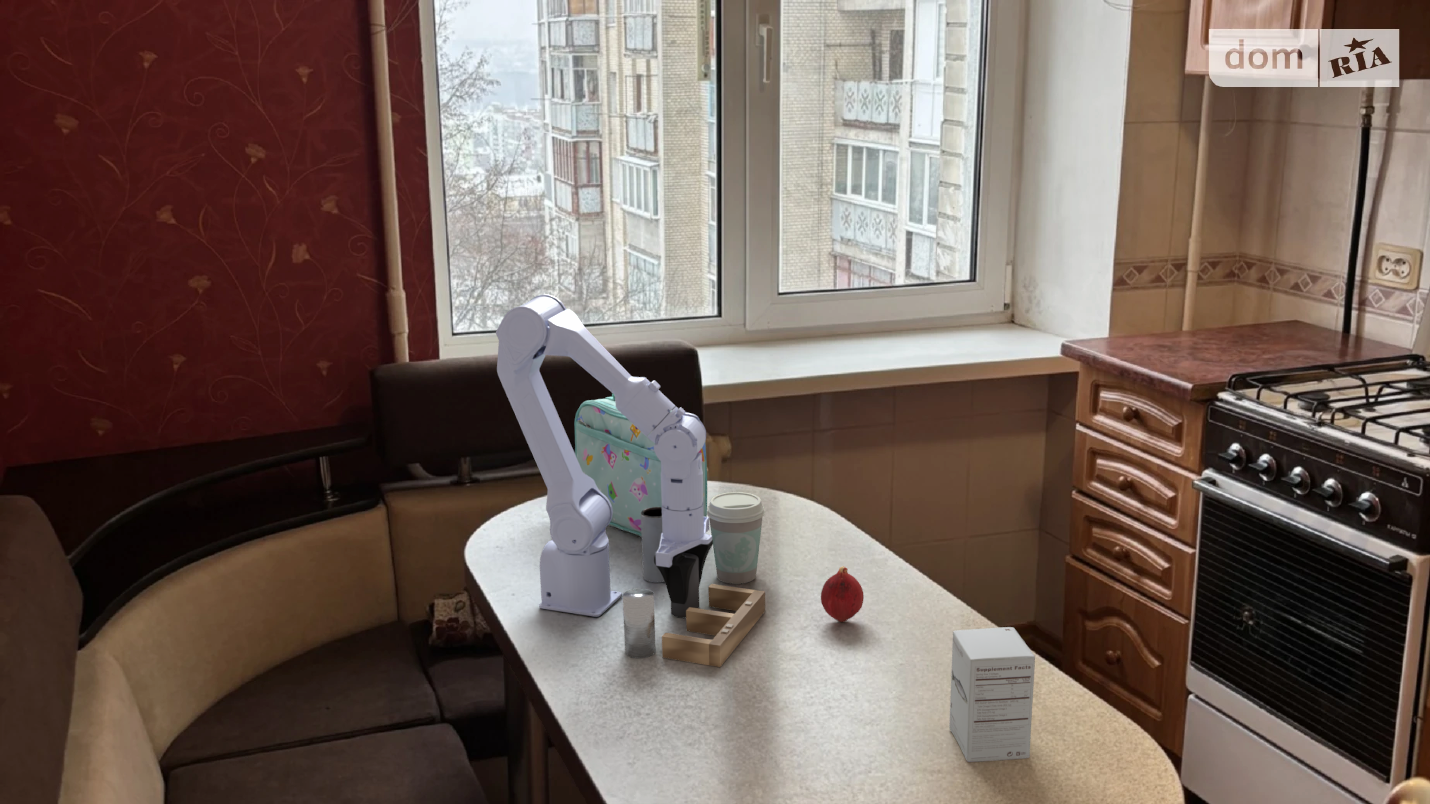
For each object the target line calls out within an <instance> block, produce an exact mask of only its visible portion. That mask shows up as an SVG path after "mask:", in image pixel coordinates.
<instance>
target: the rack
mask: <svg viewBox="0 0 1430 804" xmlns="http://www.w3.org/2000/svg"><path fill="white" fill-rule="evenodd" d="M707 591H708V594H707V595H708V607H709V608H713V607H715V608H714V609H721V610H729V611H734V612H735V613H731V612H730V613H729V612H724V611H719V610H712V609H704V608H700V609H698V608H692V607H689V608H688V609H687V610H686V618H685V619H686V620H685V621H686V626H685V627H686V632H689V633H690V632H691V633H698V634H703V635H708V636H709V635H710V636H714V637H713V638H712V639H708V638H703V637H695V636H690V635H685V634H678V633H670V632H665V633H663V634H662V635H661V652H662V653H661V654H662V659H668V660H675V661H681V662H686V663H693V664H699V665H704V666H709V667H710V666H711V667H718V668H721V667H722V666H723V664H724V663H725V662H726V660H727V659H728V658H729V657H730V656H731V654H732V653H733V652H734V650H735V649H736V648H737V647H738V646H739V645H740V643H741V642H742V641H743V640H744V638H745V637H746V636H747V634H748V633H749V632H750V631H751V629H752V628H753V627H754V626H755V624H756V623H757V622H758V621H759V620H760V618H761V617H762V616H763V615H764V614H765V612H766V591H765V590H757V589H751V588H750V589H749V588H744V587H743V588H742V587H738V586H737V587H736V586H728V585H721V584H715V583H711V584H709V586H708V589H707ZM762 614H763V615H762Z"/></svg>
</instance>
